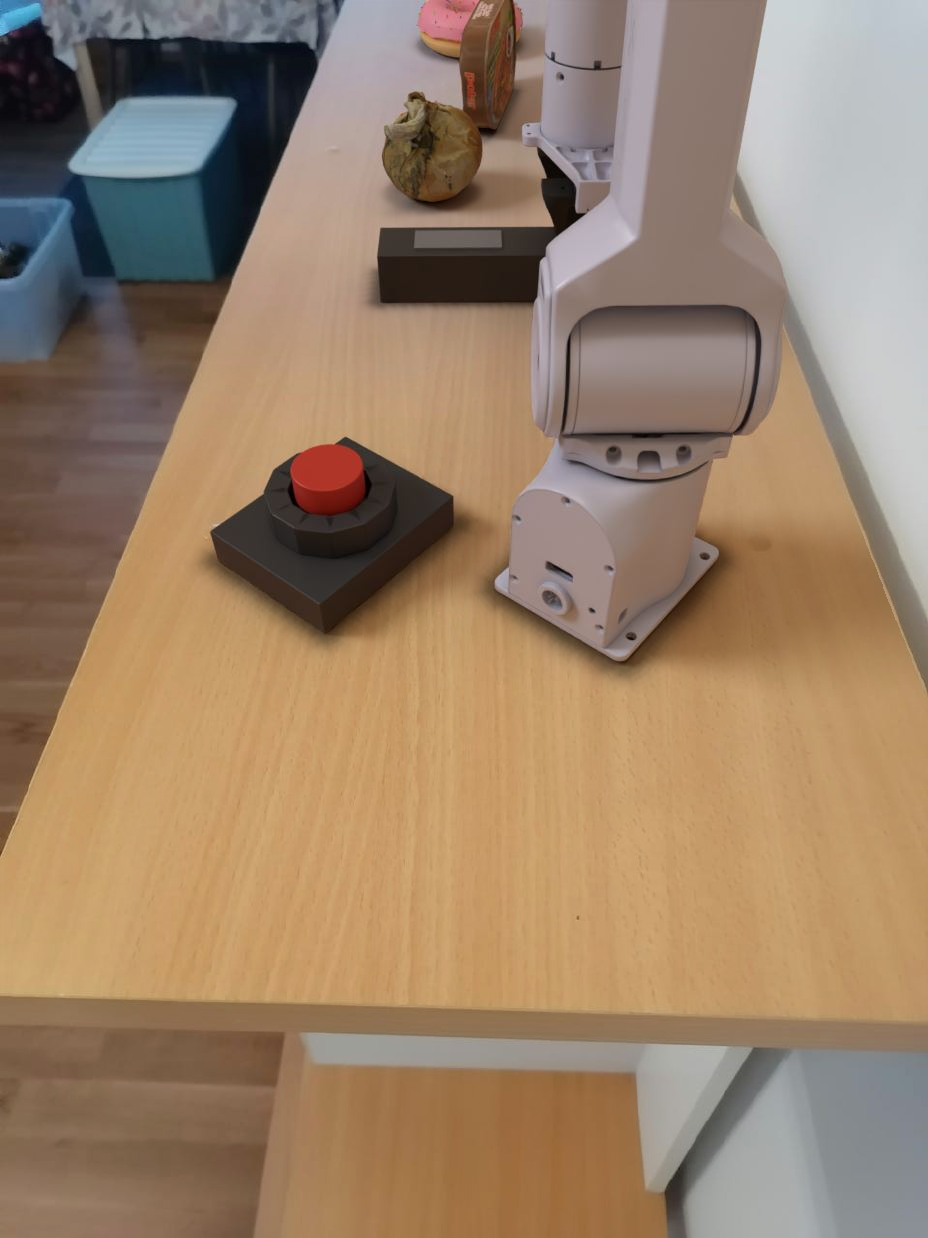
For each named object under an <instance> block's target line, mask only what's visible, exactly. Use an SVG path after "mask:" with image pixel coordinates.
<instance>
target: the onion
mask: <svg viewBox="0 0 928 1238" xmlns="http://www.w3.org/2000/svg"><path fill="white" fill-rule="evenodd" d="M403 106H404V107H405V108H406V111H404V112H402V113H401V114H399V116H398V117H397V118H396V119H395V121H394V122H393V123H388V124H387V125H384V126H383V132H384V136H385V139H384V145H383V148H382V151H381V162H382V167H383V169H384V171H385V173H386V175H387V177H388V178H389V180H390V182H391V183H392V185H393V186H394V187H395V188H396V189H397V190H398V191H399V192H401V193H403V195H404V196H406V197H408V198H411V199H414V200H418V201H420V202H421V201H422V202H425V201H426V202H430V203H433V202H440V201H444V200H449V199H451V198H453V197H456V196H457V195H458V194H459V193H460V192H461V191H462V190H464V189H466V187H467V186H468V185H469V184H470V183H471V182H472V180H473V179H474V178H475V176H476V175H477V173H478V171H479V169H480V167H481V164H482V159H483V139H482V135H481V132H480V130H479V128H477V126H476V124H475V123H474V122H473V120H472V119H471V118H470V117H469V116H468V115H467V114H466V113H465V112H464V111H463V109H460V108H459V107H455V106H453V105H451V104H444V103H441V102H438V101H437V100H434V101H431V100H427V98H426V95H425V94H424V92H423V91H420V92H419V91H417V90H416V91H415V90H414V91H412V92H409V93H408V94H407V101H406V102H403Z"/></svg>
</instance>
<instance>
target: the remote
mask: <svg viewBox="0 0 928 1238" xmlns="http://www.w3.org/2000/svg"><path fill="white" fill-rule="evenodd" d="M554 238H556V234H555V229H554V226H445V227H444V226H436V227H435V226H431V227H430V226H428V227H424V226H423V227H422V226H421V227H418V226H416V227H415V226H414V227H413V226H411V227H410V226H409V227H380V228H379V236H378V245H377V252H376V253H377V254H376V259H377V260H376V262H377V273H378V286H379V287H378V288H379V299H380V302H381V303H467V302H468V303H471V302H472V303H474V302H475V303H479V302H480V303H484V302H486V303H493V302H495V303H496V302H499V303H500V302H502V303H503V302H505V303H507V302H510V303H511V302H513V303H514V302H535V300H536V299H537V294H538V282H539V266H540V261H541V260H542V259H543V258H544V257H546V247H547V246H548V244H549V243H550V242H551V241H552V240H553V239H554Z"/></svg>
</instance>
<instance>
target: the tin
mask: <svg viewBox="0 0 928 1238" xmlns="http://www.w3.org/2000/svg"><path fill="white" fill-rule="evenodd" d="M513 1H514V0H479V2H478V4H477V5H476V7H475V9H474V11H473V13H472V14H471V16H470V18H469V20H468V22H467V24H466V26H465V28H464V30H463V34H462V39H461V45H460V58H458V59H459V60H458V61H459V65H458V69H459V75H460V76H459V77H460V81H461V98H462V110H463V111H464V112H465V113H466V114H467V115H468V116H469V117H470V118H471V119H472V120H473V122H474V123H475V124H476V126H477V128H478V129H491V130H497V129H498V127H499V125H500V123H501V120H502V117H503V115H504V114H505V110H506V108H507V105H508V103H509V101H510V98H511V96H512V93H513V90H514V84H515V78H516V66H517V65H516V64H517V42H516V20H515V19H516V18H515V8H514V2H515V1H514V2H513Z"/></svg>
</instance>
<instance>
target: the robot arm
mask: <svg viewBox="0 0 928 1238" xmlns="http://www.w3.org/2000/svg"><path fill="white" fill-rule="evenodd" d="M767 3H768V0H546V14H545V15H546V19H545V36H544V55H543V56H544V57H543V75H542V76H543V78H542V93H541V96H542V97H541V115H540V121H538V122H528V123H524V124H523V125H522V127H521V143H522V145H523V146H525V147H528V148H536V151H537V157H538V159H539V160H540V163H541V165H542V168H543V171H544V174H545V176H546V178H544V177H543V178H541V180H540V187H541V194H542V195H541V196H542V199H543V202H544V205H545V207H546V210H547V212H548V214H549V216H550V219H551V221H552V225H553V227H554V229H555V234H556V238H554V239H553V240H552V241H551V242H550V243H549V244H548V246H547V247H546V257H544V258H543V259H542V260H541V261H540V266H539V282H538V294H537V299H536V300H535V301H534V303H533V309H532V318H531V319H532V320H531V338H530V400H531V401H530V402H531V414H532V420H533V421H532V422H533V424H534V425H535V426H536V427H537V428H538V429H539V430H540V431H542V435H543V436H544V437H545V438H555V439H554V442H553V445H552V447H551V450H550V452H549V454H548V456H547V460H546V462H545V463H544V464H543V465H542V467H541V469H540V470H539V472H538V473H537V474H536V476H535V477H534V478H533V479H532V480H531V481H530V483H529V484H528V485H527V486H526V487H525V488H524V489H522V491H520V493H519V494H518V496H517V497H516V498H515V500H514V503H513V505H512V508H511V513H510V514H511V515H510V535H509V536H510V537H509V556H508V557H509V559H508V560H509V562H508V566H507V567H506V568H505V569H504V570H503V571H502V572H500V574H499V575H497V577H496V578H495V579H494V588H495V590H496V591H497V592H499V593H500V594H501V595H503V596H505V597H507V598H508V599H510V600H512V601H513V602H515V603H517V604H518V605H520V606H522V607H523V608H526V609H527V610H529V611H530V612H532V613H534V614H535V615H537V616H538V617H540V618H542V619H544V620H546V622H549V623H551V624H553V625H554V626H555V627H558V628H559V629H561V630H563V631H564V632H566V633H568V634H569V635H571V636H572V637H574V638H576V639H578V640H579V641H581V642H582V643H585V644H586V645H588V646H590V647H591V648H593V649H595V650H596V651H598V652H599V653H601V654H602V655H605V656H606V657H608V658H610V659H611V660H613V661H616V662H623V661H626V660H628V659H629V658H630V656H631V655H632V654H633V653H634V652H635V651H636V650H637V649H638V648H639V647H640V646H641V644H642V643H644V642H645V640H646V639H647V638H648V636H649V635H650V634H651V633H652V632H653V631H654V630H655V629H656V628H657V627H658V626H659V624H660V623H661V622H662V621H663V620H664V619H665V618H666V617H667V616H668V614H669V613H670V612H671V611H672V610H673V609H674V608H675V607H676V606H677V605H678V604H679V603H680V601H681V600H682V599H683V598H684V597H685V596H686V595H687V594H688V593H689V591H690V590H691V589H692V588H693V587H694V586H695V585H696V584H697V582H699V580H700V579H701V578H702V577H703V576H704V575H705V574H706V572H708V570H709V569H710V568H711V567H712V566H713V565H714V564H715V563H716V561H717V560H718V559H719V555H720V551H719V548H717V547H716V546H715V545H712V544H711V543H709V542H706V541H705V540H702V539H701V538H699V537H696V532H697V529H698V524H699V519H700V516H701V511H702V508H703V503H704V500H705V495H706V492H707V487H708V483H709V479H710V476H711V471H712V467H713V463H714V460H717V459H719V460H720V459H726V458H728V456H729V453H730V448H731V445H732V441H733V437H739V436H740V437H741V436H742V437H744V436H745V437H746V436H747V437H748V436H750V435H752V434H753V433H754V432H755V431H756V430H757V429H758V428H759V426H760V425H761V423H763V422H764V420H765V419H766V418H767V416H768V415H769V414H770V412H771V410H772V407H773V405H774V402H775V399H776V396H777V392H778V388H779V384H780V377H781V371H782V360H783V327H784V320H785V313H786V308H787V302H788V297H789V288H788V284H787V282H786V278H785V274H784V269H783V266H782V262H781V261H780V258H779V256H778V254H777V252H776V251H775V249H774V247H772V245H771V244H770V243H769V242H768V241H767V239H766V238H765V237H763V236H762V235H761V234H760V233H759V232H757V231H756V230H755V228H753V227H752V226H751V225H750V224H748V223H747V222H746V221H745V220H744V219H743V218H741V216H739V215H738V214H737V213H736V212H735V211H733V210H732V209H731V204H732V203H731V202H732V198H733V197H732V196H733V192H734V185H735V180H736V174H737V170H738V163H739V158H740V152H741V147H742V141H743V136H744V131H745V126H746V121H747V120H746V119H747V114H748V109H749V103H750V98H751V94H752V93H751V92H752V86H753V81H754V76H755V69H756V64H757V59H758V52H759V49H760V48H759V47H760V42H761V37H762V31H763V27H764V26H763V25H764V19H765V14H766V9H767ZM628 638H631V639H633V640H631V639H628Z"/></svg>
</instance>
